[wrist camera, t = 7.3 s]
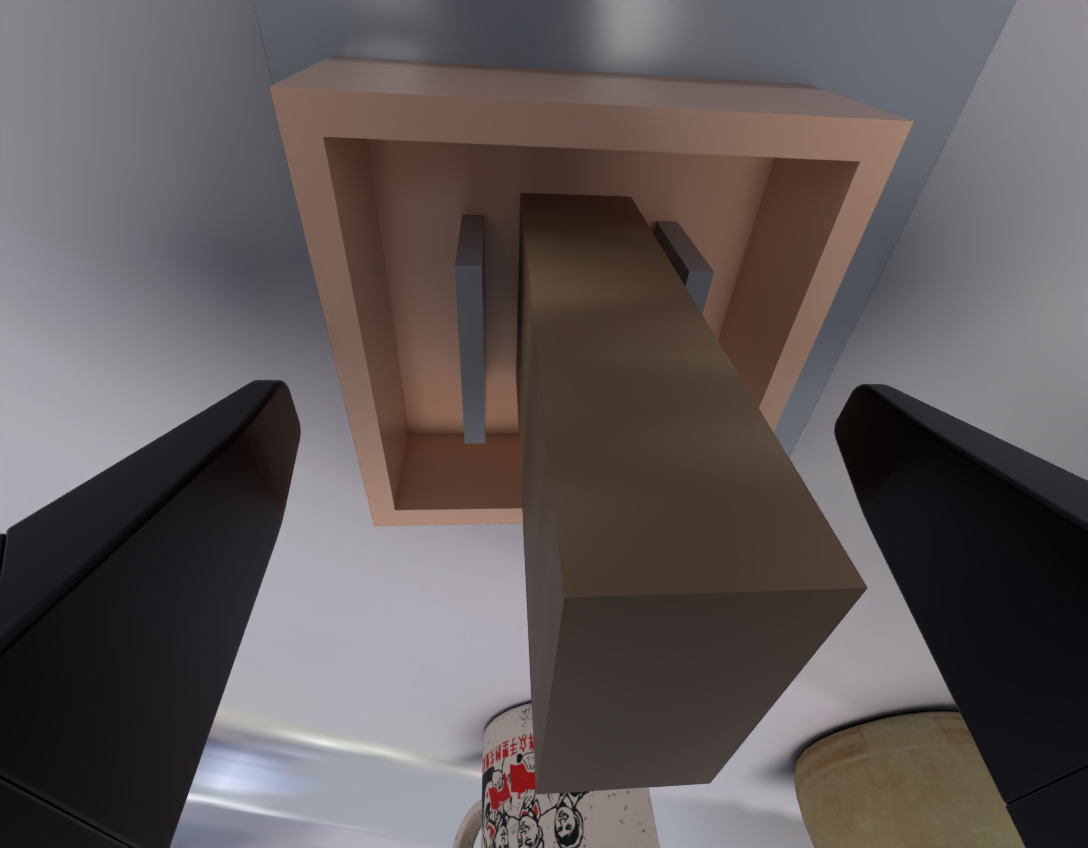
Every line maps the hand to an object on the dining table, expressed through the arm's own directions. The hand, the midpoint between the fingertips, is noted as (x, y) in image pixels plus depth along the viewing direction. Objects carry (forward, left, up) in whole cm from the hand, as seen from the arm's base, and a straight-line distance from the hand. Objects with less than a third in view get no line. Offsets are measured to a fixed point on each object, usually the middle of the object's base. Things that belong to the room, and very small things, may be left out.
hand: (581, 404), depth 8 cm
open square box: (0, 0, -4) cm, 4 cm away
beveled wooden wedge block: (0, 0, -3) cm, 3 cm away
